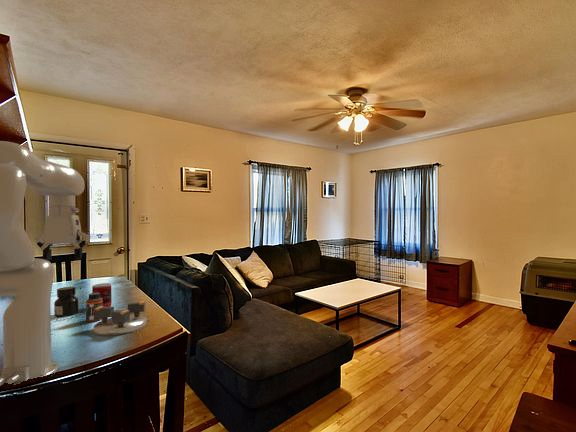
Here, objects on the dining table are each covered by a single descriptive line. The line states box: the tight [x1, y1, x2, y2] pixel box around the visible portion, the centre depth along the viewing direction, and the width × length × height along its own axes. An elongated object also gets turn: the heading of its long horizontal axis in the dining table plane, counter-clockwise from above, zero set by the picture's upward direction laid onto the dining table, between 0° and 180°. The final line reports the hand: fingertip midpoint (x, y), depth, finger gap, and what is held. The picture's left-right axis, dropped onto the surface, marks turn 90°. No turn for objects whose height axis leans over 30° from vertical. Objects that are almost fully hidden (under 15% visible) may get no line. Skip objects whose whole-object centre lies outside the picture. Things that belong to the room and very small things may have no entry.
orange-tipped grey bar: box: [95, 306, 115, 323], centre depth 115 cm, size 6×2×6 cm, turn 89°
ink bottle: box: [53, 286, 80, 318], centre depth 133 cm, size 10×9×12 cm
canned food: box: [91, 282, 113, 307], centre depth 144 cm, size 8×8×11 cm
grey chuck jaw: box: [110, 309, 131, 327], centre depth 109 cm, size 6×2×6 cm, turn 75°
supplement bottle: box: [85, 292, 103, 323], centre depth 124 cm, size 6×6×11 cm
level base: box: [93, 314, 147, 337], centre depth 114 cm, size 18×18×4 cm
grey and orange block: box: [127, 300, 146, 317], centre depth 120 cm, size 6×2×6 cm, turn 103°
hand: (62, 260), depth 103 cm, fingers open, 9 cm apart
